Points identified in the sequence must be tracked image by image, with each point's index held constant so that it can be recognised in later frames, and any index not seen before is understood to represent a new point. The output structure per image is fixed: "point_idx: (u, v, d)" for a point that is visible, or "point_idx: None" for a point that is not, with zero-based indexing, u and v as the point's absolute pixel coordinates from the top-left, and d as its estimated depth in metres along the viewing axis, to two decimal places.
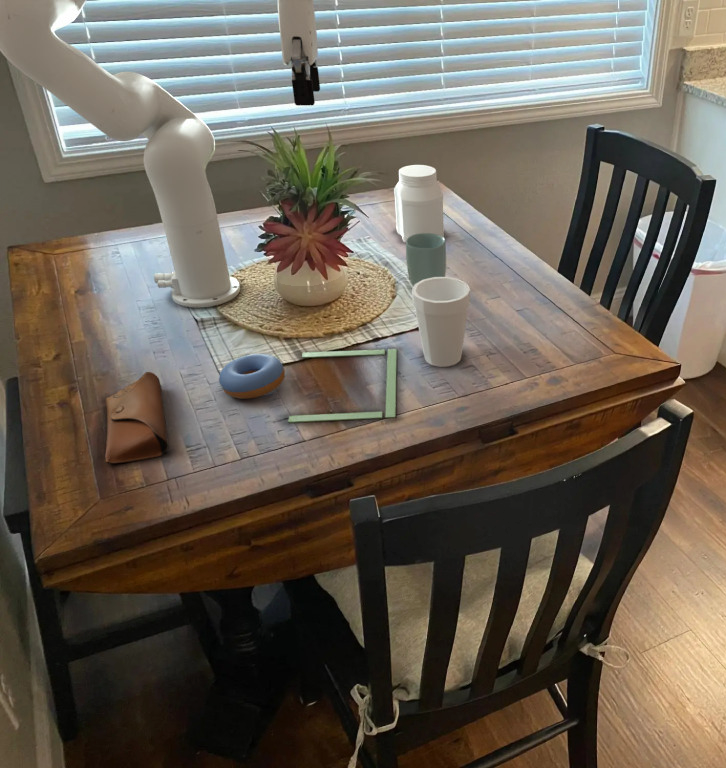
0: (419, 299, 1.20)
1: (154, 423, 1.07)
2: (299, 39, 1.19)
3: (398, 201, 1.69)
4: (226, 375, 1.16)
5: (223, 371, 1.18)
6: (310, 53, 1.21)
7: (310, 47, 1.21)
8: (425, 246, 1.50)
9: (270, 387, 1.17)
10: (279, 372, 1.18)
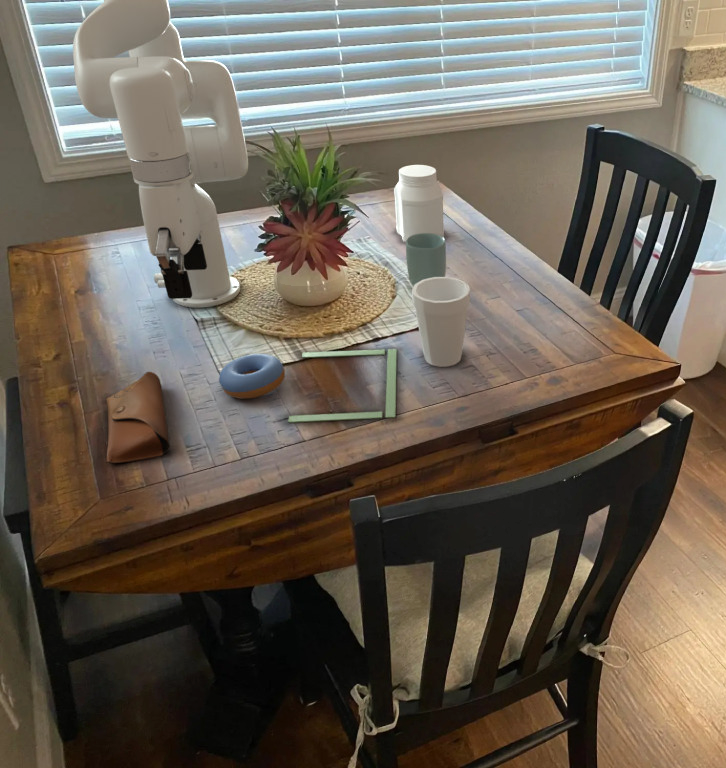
0: (419, 299, 1.20)
1: (155, 423, 1.07)
2: (167, 230, 1.01)
3: (398, 201, 1.69)
4: (226, 375, 1.16)
5: (223, 371, 1.18)
6: (182, 244, 1.03)
7: (181, 237, 1.02)
8: (425, 246, 1.50)
9: (270, 387, 1.17)
10: (279, 372, 1.18)
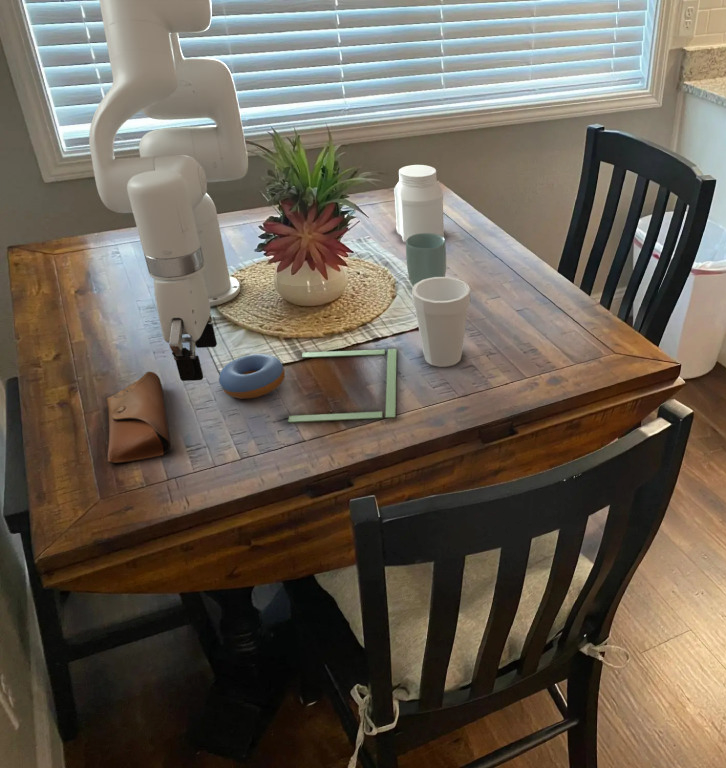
0: (419, 299, 1.20)
1: (156, 422, 1.07)
2: (180, 320, 1.07)
3: (398, 201, 1.69)
4: (226, 375, 1.16)
5: (223, 371, 1.18)
6: (194, 332, 1.09)
7: (193, 326, 1.08)
8: (425, 246, 1.50)
9: (270, 387, 1.17)
10: (279, 372, 1.18)
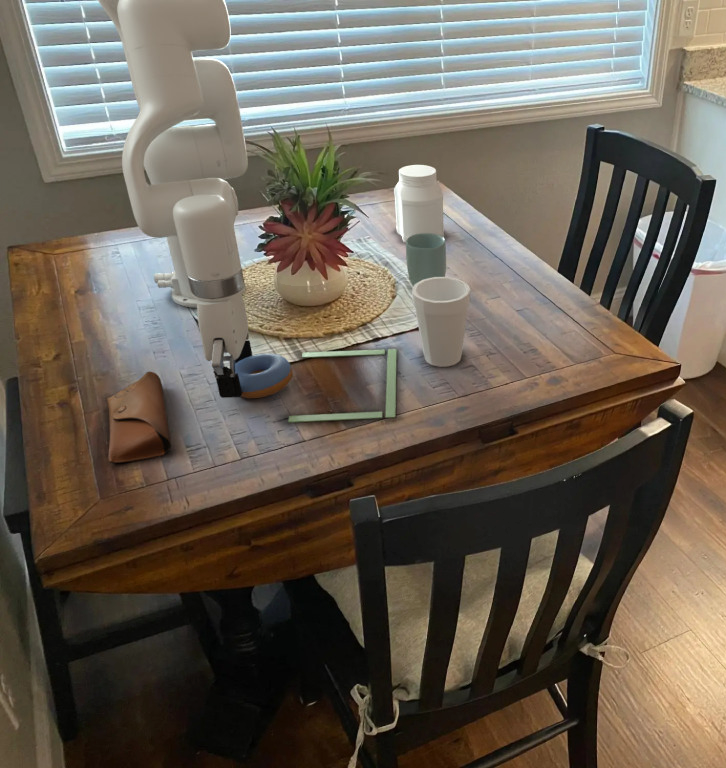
0: (419, 299, 1.20)
1: (157, 422, 1.07)
2: (221, 340, 1.10)
3: (398, 201, 1.69)
4: None
5: None
6: (234, 351, 1.11)
7: (234, 345, 1.11)
8: (425, 246, 1.50)
9: (278, 387, 1.17)
10: (287, 372, 1.18)
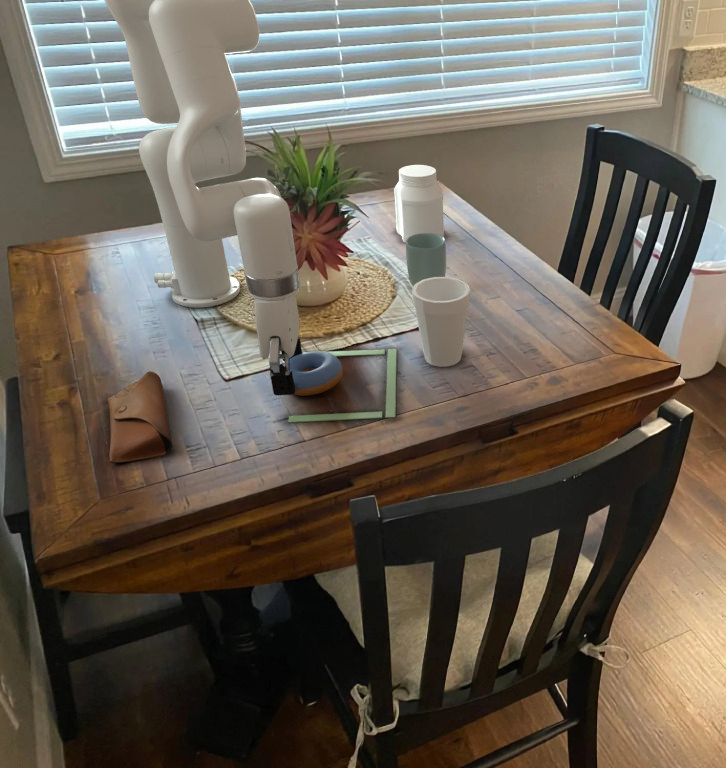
0: (419, 299, 1.20)
1: (158, 422, 1.07)
2: (277, 338, 1.11)
3: (398, 201, 1.69)
4: None
5: None
6: (290, 349, 1.12)
7: (290, 344, 1.12)
8: (425, 246, 1.50)
9: (330, 384, 1.18)
10: (338, 369, 1.19)
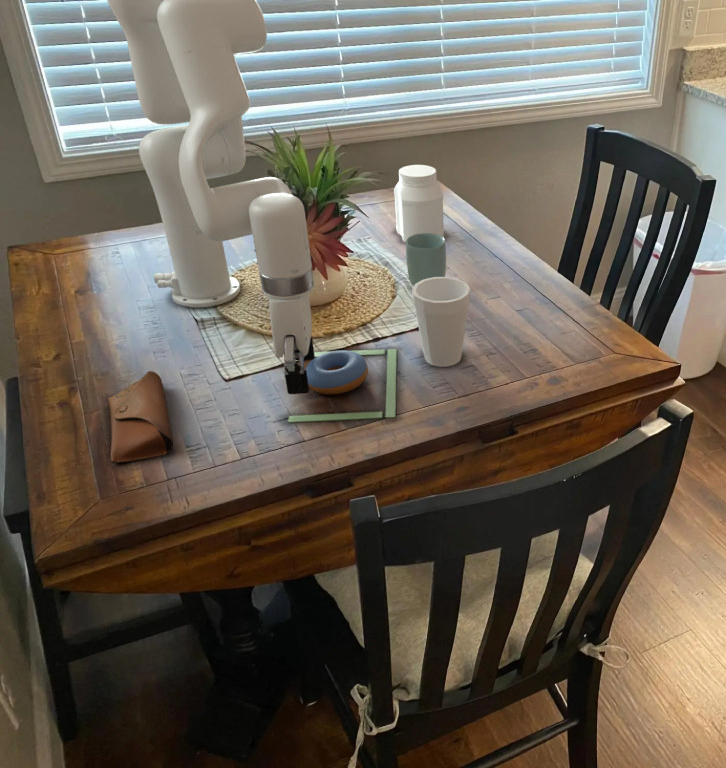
0: (419, 299, 1.20)
1: (159, 422, 1.07)
2: (292, 337, 1.11)
3: (398, 201, 1.69)
4: (313, 371, 1.18)
5: (309, 367, 1.19)
6: (304, 348, 1.13)
7: (304, 342, 1.12)
8: (425, 246, 1.50)
9: (356, 383, 1.18)
10: (364, 368, 1.20)
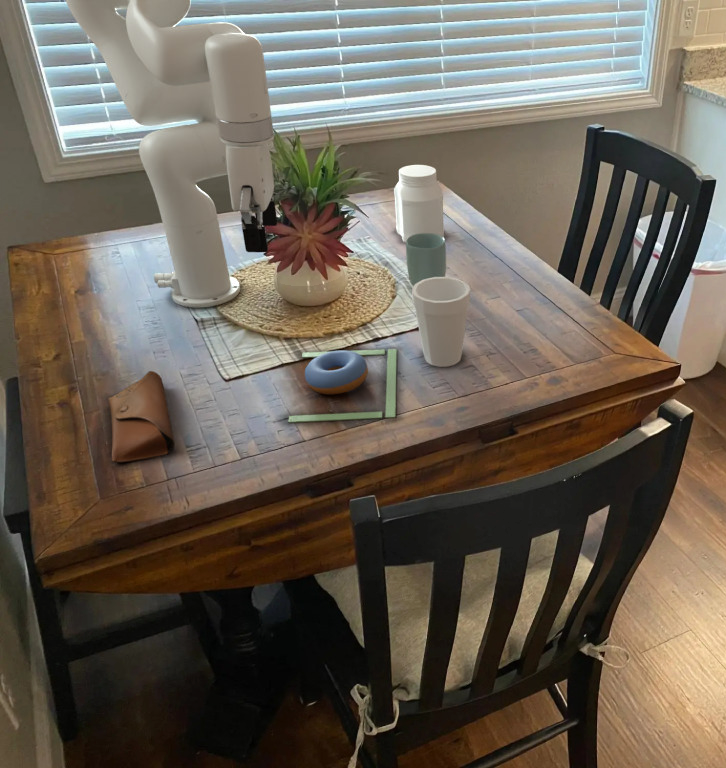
0: (419, 299, 1.20)
1: (160, 421, 1.07)
2: (249, 188, 1.09)
3: (398, 201, 1.69)
4: (313, 371, 1.18)
5: (309, 367, 1.19)
6: (262, 201, 1.10)
7: (262, 195, 1.10)
8: (425, 246, 1.50)
9: (356, 383, 1.18)
10: (364, 368, 1.20)
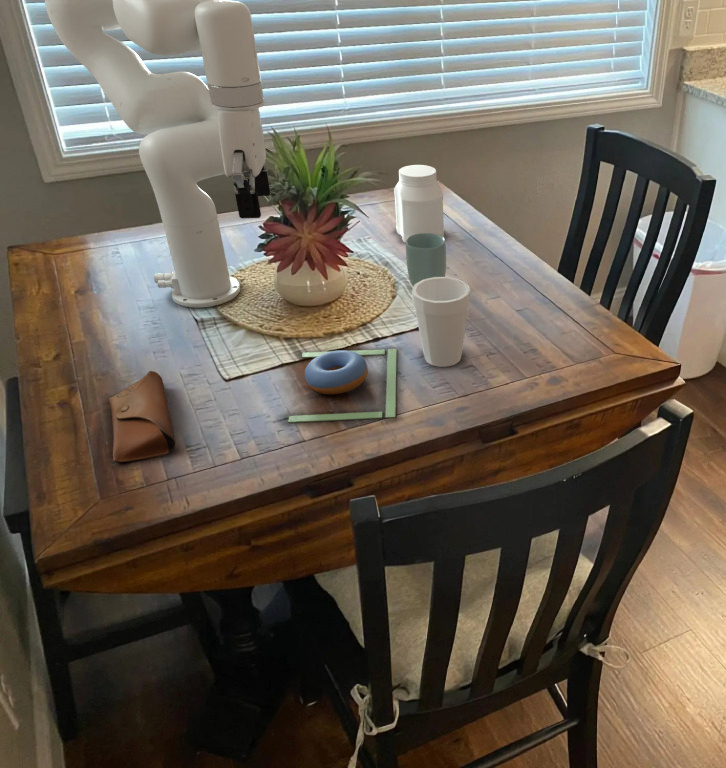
0: (419, 299, 1.20)
1: (161, 421, 1.07)
2: (241, 152, 1.11)
3: (398, 201, 1.69)
4: (313, 371, 1.18)
5: (309, 367, 1.19)
6: (254, 166, 1.12)
7: (254, 160, 1.12)
8: (425, 246, 1.50)
9: (356, 383, 1.18)
10: (364, 368, 1.20)
